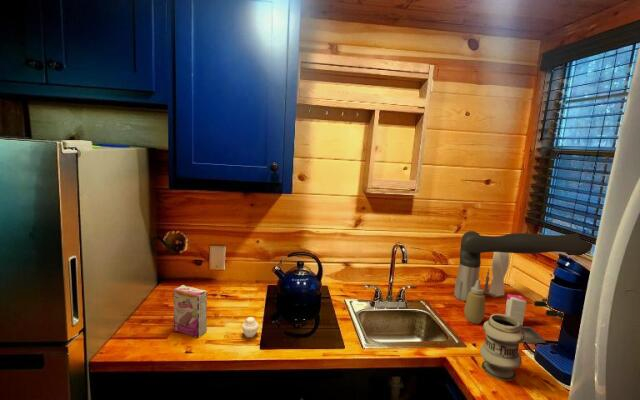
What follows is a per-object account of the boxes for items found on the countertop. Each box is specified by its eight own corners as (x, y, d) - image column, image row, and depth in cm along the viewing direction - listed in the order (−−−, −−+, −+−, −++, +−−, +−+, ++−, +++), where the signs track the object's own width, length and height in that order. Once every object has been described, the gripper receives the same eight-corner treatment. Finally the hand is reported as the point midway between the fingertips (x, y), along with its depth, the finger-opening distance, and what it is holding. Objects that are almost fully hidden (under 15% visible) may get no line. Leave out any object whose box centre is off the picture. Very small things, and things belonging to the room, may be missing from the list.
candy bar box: (173, 331, 124) (172, 289, 122) (182, 325, 129) (182, 284, 126) (198, 338, 121) (198, 295, 118) (207, 331, 125) (207, 289, 123)
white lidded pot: (241, 340, 121) (241, 322, 120) (241, 331, 127) (242, 313, 126) (258, 339, 122) (259, 321, 121) (258, 330, 128) (258, 312, 127)
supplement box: (523, 327, 142) (527, 301, 140) (507, 324, 143) (511, 299, 141) (518, 320, 147) (521, 295, 145) (503, 318, 148) (506, 293, 147)
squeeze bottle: (483, 318, 147) (488, 279, 144) (483, 327, 139) (489, 285, 137) (463, 314, 150) (468, 275, 147) (462, 322, 143) (467, 281, 140)
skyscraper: (494, 289, 180) (501, 238, 175) (508, 296, 172) (515, 242, 168) (483, 291, 176) (489, 239, 172) (496, 298, 169) (504, 244, 165)
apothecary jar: (471, 359, 117) (477, 310, 114) (504, 359, 118) (511, 311, 115) (490, 383, 105) (498, 329, 102) (527, 383, 106) (536, 330, 103)
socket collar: (517, 342, 129) (518, 338, 129) (505, 328, 139) (505, 325, 139) (544, 344, 129) (545, 340, 129) (530, 330, 139) (530, 327, 139)
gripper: (570, 295, 149) (532, 292, 150) (594, 310, 135) (552, 307, 136) (567, 311, 150) (529, 308, 151) (591, 327, 136) (549, 324, 137)
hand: (540, 308), depth 143 cm, fingers open, 8 cm apart
